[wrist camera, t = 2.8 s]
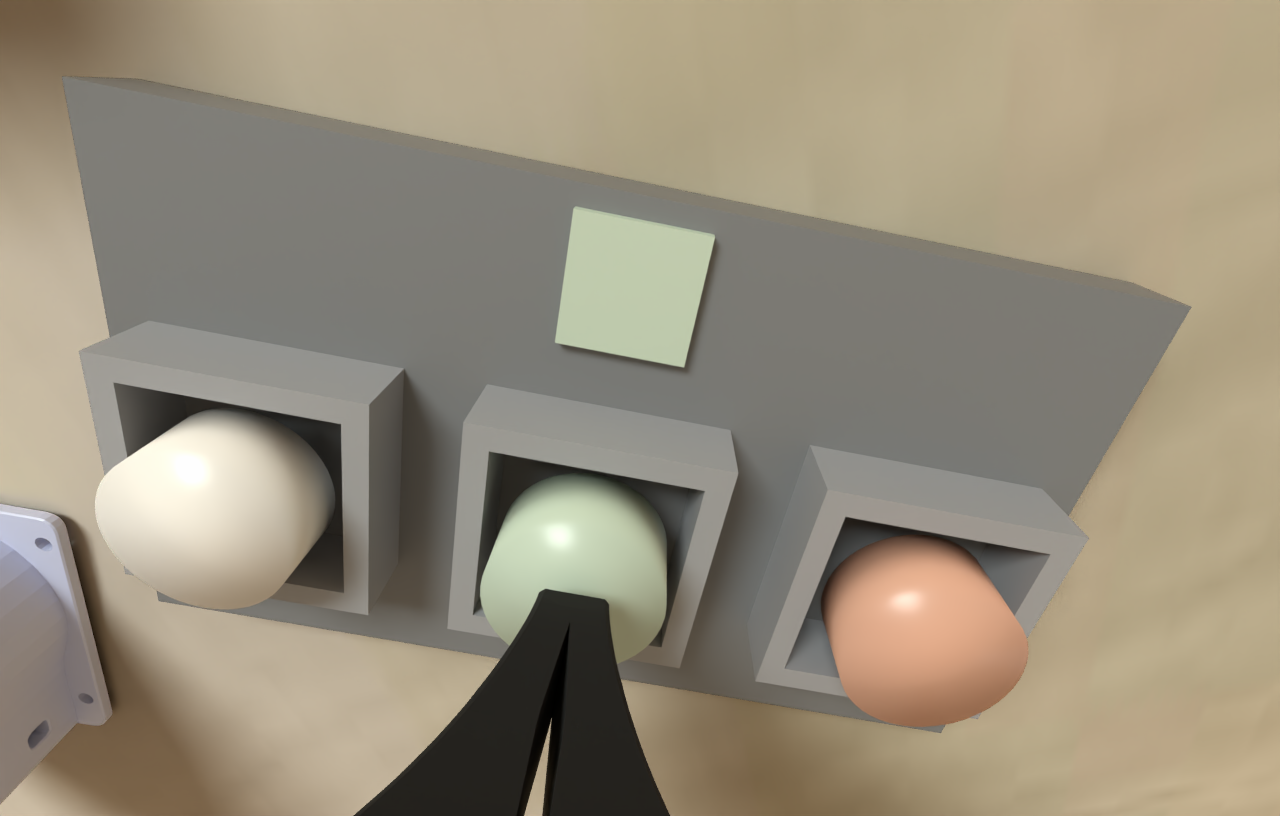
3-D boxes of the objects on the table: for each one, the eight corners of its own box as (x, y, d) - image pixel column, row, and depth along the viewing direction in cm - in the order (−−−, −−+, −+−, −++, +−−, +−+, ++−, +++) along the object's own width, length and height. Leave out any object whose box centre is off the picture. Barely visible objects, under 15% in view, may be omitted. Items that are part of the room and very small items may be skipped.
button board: (918, 680, 22) (967, 795, 18) (202, 557, 21) (105, 653, 17) (1131, 282, 16) (1268, 338, 12) (135, 78, 15) (-36, 73, 11)
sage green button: (649, 618, 17) (646, 682, 15) (495, 591, 16) (473, 653, 15) (683, 490, 15) (684, 545, 13) (510, 458, 15) (488, 509, 13)
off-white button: (336, 564, 16) (295, 623, 14) (175, 536, 16) (112, 592, 14) (333, 426, 14) (285, 473, 13) (152, 393, 14) (77, 435, 12)
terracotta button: (948, 670, 17) (981, 739, 15) (800, 645, 17) (816, 710, 15) (1015, 551, 15) (1062, 612, 13) (851, 521, 15) (876, 579, 13)
